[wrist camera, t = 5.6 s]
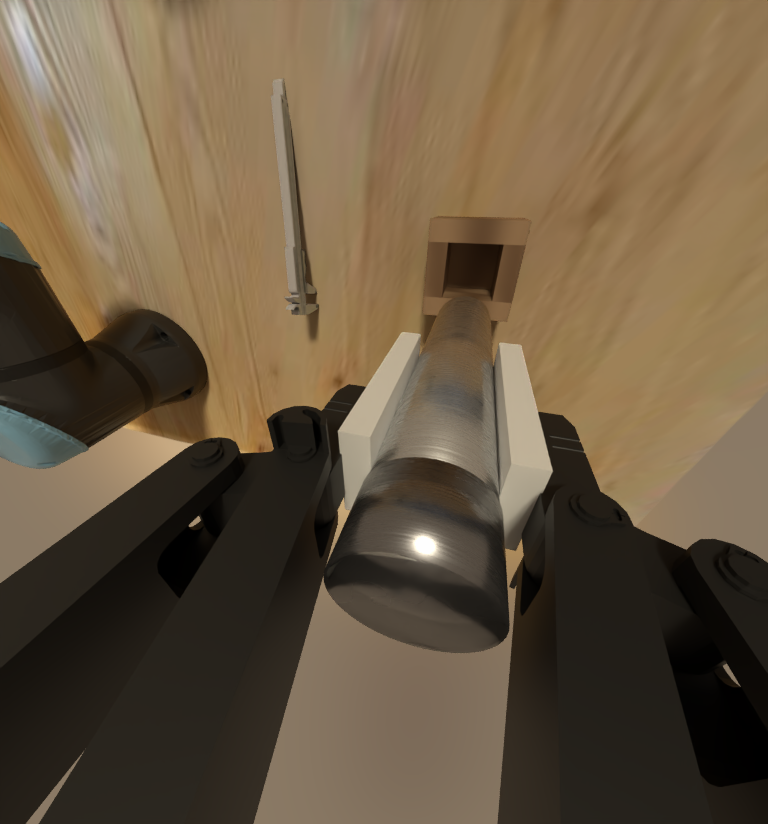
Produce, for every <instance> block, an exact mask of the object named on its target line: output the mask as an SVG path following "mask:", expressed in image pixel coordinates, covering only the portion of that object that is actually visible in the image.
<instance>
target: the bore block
mask: <svg viewBox="0 0 768 824" xmlns="http://www.w3.org/2000/svg"><path fill="white" fill-rule="evenodd" d="M530 225H531V220H528V219H525V218H493V217H444V216H438V217H434V218H431V219H430V227H429V240H428V252H427V264H426V277H425V289H424V301H423V314H425V315H438V312H439V311H440V309H441V308H442V306H443V305H444V304H445V303H447V302H448V301H449V300H451V299H453V298H456V297H460V296H469V297H474V298H476V299H478V300H480V301H481V302H482V303H484V305H485V306H486V307H487V309H488V311H489V313H490V317H491V320H493V321H505V322H507V320H508V316H509V312H510V308H511V304H512V300H513V296H514V292H515V287H516V283H517V279H518V275H519V271H520V267H521V263H522V258H523V254H524V250H525V246H526V242H527V238H528V234H529V230H530Z"/></svg>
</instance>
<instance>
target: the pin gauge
mask: <svg viewBox="0 0 768 824" xmlns="http://www.w3.org/2000/svg"><path fill="white" fill-rule="evenodd" d="M323 576H324V583H325V586H326V589H327V591H328V592H329V594H330V596H331V597H332V598H333V600H334V601H335V602H336V603H337V604H338V605H339V606H340V607H341V608H342V609H343V610H344V611H345V612H347V613H348V614H349V615H350V616H352V617H353V618H355V619H356V620H357V621H359V622H360V623H362V624H364V625H365V626H367V627H369V628H371V629H373V630H374V631H376V632H378V633H381V634H383V635H385V636H387V637H390V638H392V639H395V640H397V641H400V642H403V643H406V644H409V645H413V646H417V647H421V648H424V649H429V650H434V651H441V652H451V653H470V652H479V651H484V650H487V649H490V648H493V647H495V646H497V645H498V644H500V643H501V642H502V641H503V640H504V639H505V638H506V637H507V634H508V632H509V608H508V590H507V573H506V557H505V538H504V521H503V511H502V507H501V504H500V495H499V474H498V454H497V433H496V413H495V393H494V372H493V352H492V332H491V317H490V313H489V311H488V309H487V307H486V306H485V305H484V303H482V302H481V301H480V300H478V299H476V298H474V297H469V296H460V297H456V298H453V299H451V300H449V301H448V302H447V303H445V304H444V305H443V306H442V308H441V309H440V311H439V312H438V315H437V317H436V319H435V321H434V324H433V326H432V328H431V331H430V333H429V335H428V338H427V340H426V342H425V345H424V347H423V349H422V352H421V354H420V356H419V359H418V361H417V363H416V366H415V368H414V370H413V373H412V375H411V377H410V380H409V382H408V384H407V387H406V389H405V391H404V394H403V396H402V398H401V401H400V403H399V405H398V408H397V410H396V412H395V415H394V417H393V419H392V422H391V424H390V426H389V429H388V431H387V433H386V436H385V438H384V440H383V442H382V445H381V447H380V449H379V452H378V454H377V456H376V459H375V461H374V463H373V466H372V468H371V470H370V473H369V474H368V475H367V476H366V478H365V479H364V481H363V483H362V486H361V488H360V490H359V492H358V495H357V497H356V499H355V502H354V504H353V506H352V508H351V511H350V513H349V515H348V518H347V520H346V522H345V524H344V527H343V529H342V531H341V534H340V536H339V538H338V541H337V543H336V545H335V547H334V549H333V552H332V554H331V556H330V559H329V561H328V563H327V565H326V568H325V570H324V575H323Z"/></svg>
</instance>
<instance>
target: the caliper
mask: <svg viewBox="0 0 768 824" xmlns="http://www.w3.org/2000/svg"><path fill="white" fill-rule="evenodd" d="M273 93H274V95H271V102H272V111H273V121H274V131H275V141H276V150H277V160H278V170H279V179H280V189H281V198H282V208H283V217H284V227H285V236H286V246H287V247H285V257H286V267H287V277H288V287H289V293H291V294H292V296H291V297H284V298H285V299H286V300H287V301H288V302H292V304H289V305H288V306H287V307H286V309H287V310H291V311H292V314H294V315H309V314H310V313H312V312H314V311H315V310H317V309H318V306H319V304H306V296H305V294H315V293H317V290H316V288H314V287H313V286H311V285H310V284H309V283H307V282H306V277H305V275H306V261H305V250H304V249H302V248H301V237H300V226H299V214H298V203H297V192H296V180H295V168H294V156H293V144H292V133H291V122H290V115H289V109H288V102H287V99H286V95H285V83H284V79H283V78H282V79H276V80H273Z"/></svg>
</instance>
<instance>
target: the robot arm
mask: <svg viewBox="0 0 768 824" xmlns="http://www.w3.org/2000/svg"><path fill="white" fill-rule="evenodd" d="M40 269H42V268H41V267H40V265H39V264H38V263H37V262H35V261H34V260H33V259H32V257H31V256H30V254H29V253H28V251H27V250H26V248H25V247H24V245H23V244H22V242H21V241H20V239H19V238H18V236H17V235H16V234H15V233H14V232H13V230H11V229H10V228H9V227H8V226H6V225H5V224H3V223H2V222H0V457H2V458H4V459H6V460H8V461H11V462H13V463H16V464H19V465H22V466H26V467H29V468H36V469H46V468H51V467H55V466H57V465H59V464H61V463H63V462H65V461H67V460H69V459H70V458H72V457H74V456H76V455H78V454H80V453H82V452H86V451H87V450H88V449H89V447H91V446H93V445H94V444H96V443H97V442H99V441H101V440H102V439H104V438H106V437H107V436H109V435H110V434H112V433H113V432H115V431H117V430H118V429H120V428H121V427H123V426H125V425H126V424H128V423H129V422H131V421H133V420H134V419H136V418H137V417H139V416H140V415H142V414H144V413H145V412H147V411H149V410H150V409H152V408H155V407H159V406H163V405H167V404H171V403H175V402H179V401H183V400H186V399H189V398H191V397H192V396H194V395H195V394H197V393H198V392H200V391H201V390H202V389H203V388H204V386H205V384H206V380H207V371H206V366H205V362H204V360H203V357H202V355H201V353H200V351H199V349H198V348H197V346H196V344H195V343H194V342H193V340H192V339H191V338H190V337H189V335H188V334H187V333H186V332H185V331H184V330H183V329H182V328H181V327H180V326H179V325H177V324H176V323H175V322H173V321H172V320H171V319H169V318H168V317H166V316H164V315H162V314H160V313H158V312H155V311H152V310H146V309H140V310H135V311H132V312H129V313H126V314H123V315H121V316H119V317H118V318H116V319H115V320H114V321H113V322H112V323H110V324H109V325H108V326H107V327H106V328H105V329H103V330H102V331H101V332H100V333H99V334H97V335H96V336H95V337H94V338H93V339H91V340H88V341H86V342H84V341H83V339H82V338H81V336H80V334H79V333H78V331H77V329H76V328H75V326H74V325H73V323H72V321H71V320H70V318H69V316H68V315H67V313H66V311H65V310H64V308H63V306H62V305H61V303H60V301H59V300H58V298H57V296H56V295H55V293H54V292H53V290H52V288H51V287H50V285H49V283H48V282H47V280H46V278H45V277H44V275H43V273H42V272H41V270H40ZM420 339H421V334H416V333H407V332H402V333H401V334H400V336H399V337H398V339H397V340H396V342H395V343H394V345H393V347H392V348H391V350H390V351H389V353H388V354H387V356H386V357H385V359H384V360H383V362H382V364H381V365H380V367H379V368H378V370H377V371H376V373H375V374H374V376H373V377H372V379H371V381H370V382H369V384H368V385H367V387H364V386H357V385H350V384H349V385H347V386H345V387H344V388H342V389H340V390H338V391H337V392H336V393H335V395H334V396H333V397H332V398H331V400H330V402H328V403H327V405H326V406H325V408H324V409H323V410H322V411H320V410H318V409H317V408H314V407H309V406H294V407H290V408H286V409H282V410H280V411H278V412H276V413H274V414H273V415H272V416H271V417H270V418H268V419H267V424H268V428H269V432H270V435H271V439H272V443H273V447H274V449H273V451H272V452H262V453H240V451H239V448H238V446H237V444H236V442H234V441H233V440H231V439H228V438H220V437H218V438H210V439H206V440H203V441H200V442H197V443H195V444H193V445H192V446H189V447H188V448H186V449H184V450H183V451H182V452H180V453H179V454H178V455H176V456H175V457H173V458H172V459H171V460H169V461H168V462H167V463H165V464H164V465H163V466H161V467H160V468H158V469H157V470H156V471H154V472H153V473H151V474H150V475H149V476H147V477H146V478H145V479H143V480H142V481H140V482H139V483H138V484H136V485H135V486H134V487H132V488H131V489H130V490H128V491H127V492H125V493H124V494H123V495H121V496H120V497H118V498H117V499H116V500H115V501H113V502H112V503H110V504H109V505H107V506H106V507H105V508H103V509H102V510H101V511H99V512H98V513H97V514H95V515H94V516H92V517H91V518H90V519H88V520H87V521H85V522H84V523H83V524H81V525H80V526H79V527H77V528H76V529H75V530H73V531H72V532H70V533H69V534H68V535H67V536H65V537H63V538H62V539H61V540H59V541H58V542H57V543H55V544H54V545H52V546H51V547H50V548H48V549H47V550H46V551H44V552H43V553H41V554H40V555H39V556H37V557H36V558H35V559H33V560H32V561H30V562H29V563H28V564H26V565H25V566H23V567H22V568H21V569H19V570H18V571H17V572H15V573H14V574H12V575H11V576H10V577H8V578H7V579H6V580H4V581H3V582H2V583H0V824H26V822H27V821H28V820H29V819H30V817H31V816H32V815H33V814H34V812H35V811H36V810H37V809H38V807H39V806H40V805H41V804H42V802H43V801H44V800H45V799H46V797H47V796H48V795H49V794H50V792H51V791H52V790H53V789H54V787H55V786H56V785H57V784H58V782H59V781H60V780H61V779H62V777H63V776H64V775H65V774H66V772H67V771H68V770H69V769H70V767H71V766H72V765H73V764H74V762H75V761H76V760H77V759H78V757H79V756H80V755H81V754H82V752H83V751H84V750H85V751H84V753H83V754H82V756H81V757H80V759H79V761H78V762H77V764H76V766H75V767H74V769H73V770H72V772H71V773H70V775H69V777H68V778H67V780H66V782H65V783H64V785H63V786H62V788H61V789H60V791H59V793H58V794H57V796H56V797H55V799H54V801H53V802H52V804H51V805H50V807H49V809H48V810H47V812H46V813H45V815H44V817H43V818H42V820H41V821H40V823H39V824H253V823H254V820H255V816H256V812H257V809H258V805H259V801H260V798H261V794H262V791H263V787H264V784H265V780H266V777H267V773H268V770H269V766H270V763H271V759H272V756H273V752H274V748H275V745H276V741H277V738H278V734H279V731H280V727H281V724H282V720H283V717H284V713H285V709H286V706H287V702H288V699H289V695H290V692H291V688H292V685H293V681H294V677H295V674H296V670H297V667H298V663H299V660H300V656H301V653H302V649H303V646H304V642H305V638H306V635H307V631H308V627H309V624H310V621H311V617H312V614H313V610H314V606H315V603H316V599H317V596H318V592H319V589H320V585H321V582H322V578H323V575H324V570H325V567H326V564H327V560H328V557H329V553H330V550H331V546H332V542H333V539H334V535H335V532H336V528H337V525H338V511H337V510H338V508H339V506H340V504H341V502H342V500H343V498H344V502H345V509H347V510H351V508H352V506H353V504H354V502H355V499H356V497H357V495H358V492H359V490H360V488H361V486H362V483H363V481H364V479H365V478H366V476H367V475H368V474H369V473H370V470H371V468H372V466H373V463H374V461H375V459H376V456H377V454H378V452H379V449H380V447H381V445H382V442H383V440H384V438H385V436H386V433H387V431H388V429H389V426H390V424H391V422H392V419H393V417H394V415H395V412H396V410H397V408H398V405H399V403H400V401H401V398H402V396H403V394H404V391H405V389H406V387H407V384H408V382H409V380H410V377H411V375H412V373H413V370H414V368H415V366H416V363H417V361H418V359H419V351H420ZM493 372H494V393H495V413H496V433H497V454H498V474H499V495H500V504H501V507H502V511H503V521H504V538H505V548H506V549H510V550H516V549H517V547H518V545H519V543H520V541H521V539H522V544H523V553H524V556H523V558H522V560H521V562H520V564H519V566H518V568H517V570H516V572H515V574H514V576H513V578H512V581H511V584H510V587H511V588H513V589H514V588H515V586H516V585H517V587H516V598H515V611H514V624H513V636H512V648H511V662H510V674H509V687H508V699H507V700H508V701H507V712H506V724H505V737H504V750H503V762H502V775H501V787H500V800H499V813H498V824H768V563H767V562H766V561H764V560H763V559H761V558H760V557H758V556H757V555H755V554H753V553H751V552H749V551H747V550H745V549H743V548H741V547H739V546H736V545H734V544H731V543H727V542H724V541H720V540H716V539H700V540H699V541H697V542H695V543H694V544H692V545H691V546H690V547H689V548H688V549H687V550H686V549H683V548H681V547H679V546H676V545H674V544H672V543H669V542H667V541H665V540H662V539H660V538H658V537H655V536H653V535H650V534H648V533H646V532H644V531H642V530H640V529H638V528H636V527H634V526H633V523H632V521H631V519H630V518H629V516H628V514H627V512H626V511H625V510H624V509H623V508H622V507H621V506H620V505H619V504H618V503H617V502H616V501H614V500H613V499H611V498H610V497H608V496H607V495H605V494H604V493H602V492H600V489H599V487H598V484H597V482H596V479H595V477H594V474H593V472H592V469H591V467H590V464H589V462H588V459H587V457H586V454H585V453H584V449H583V447H582V444H581V442H579V441H580V439H579V437H578V434H577V432H576V429H575V427H574V426H573V425H572V424H571V423H570V422H569V421H568V420H567V419H566V418H565V417H564V416H563V415H556V414H549V413H543V412H538V411H537V407H536V403H535V399H534V395H533V391H532V387H531V383H530V379H529V375H528V371H527V367H526V363H525V359H524V355H523V351H522V347H521V345H517V344H508V343H499V346H498V350H497V354H496V358H495V362H494V366H493ZM197 516H199V517H200V519H201V521H200V522H199V523H198V524H196V525H194V526H193V527H189V526H188V525H189V524H190V523H191V522H192V521H193V520H194V519H195V518H197ZM725 664H728V666H729V668H730V669H731V671H732V673H733V674H734V676H735V678H736V679H737V681H738V683H739V684H740V686H741V687H740V686H739V685H737V684H736V683H735V682H734V681H733V680H732V679H731V678H730V676H729V675H728V674H727V672H726V671H725V669H724V668H723V665H725Z"/></svg>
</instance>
